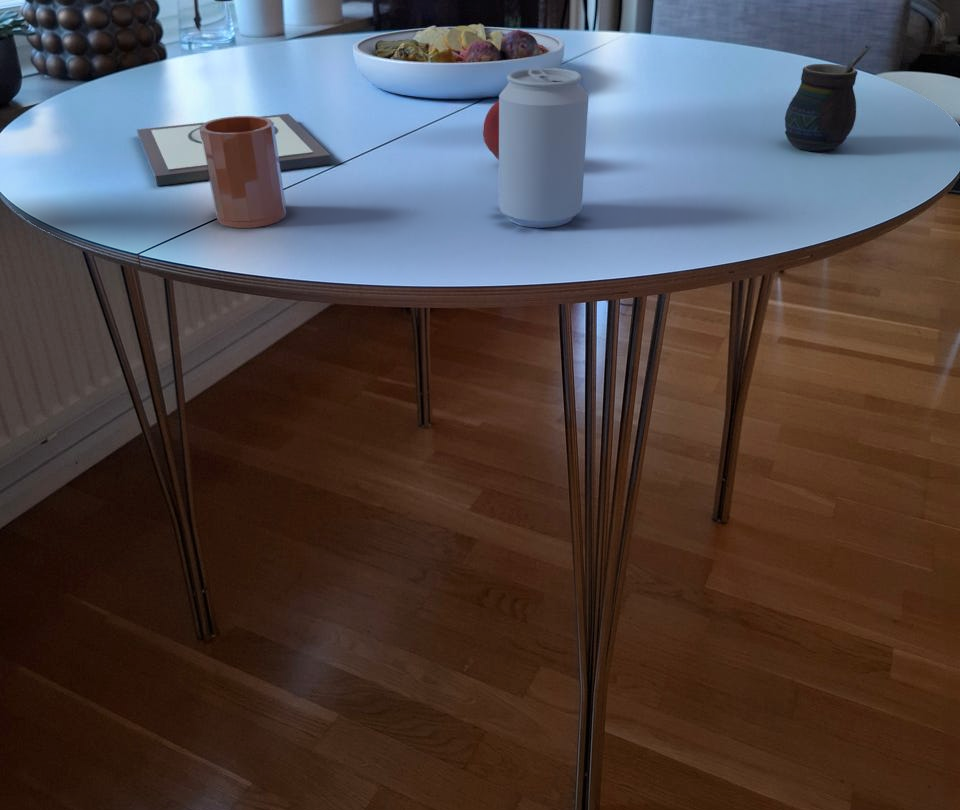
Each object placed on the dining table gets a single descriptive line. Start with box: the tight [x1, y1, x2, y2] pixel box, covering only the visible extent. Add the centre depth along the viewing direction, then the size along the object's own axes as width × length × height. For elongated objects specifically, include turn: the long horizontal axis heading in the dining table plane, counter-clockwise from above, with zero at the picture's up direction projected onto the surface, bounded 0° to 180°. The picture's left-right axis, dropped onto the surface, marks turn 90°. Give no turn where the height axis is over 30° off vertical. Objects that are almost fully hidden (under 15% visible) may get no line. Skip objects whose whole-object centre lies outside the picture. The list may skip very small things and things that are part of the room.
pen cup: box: [199, 115, 287, 229], centre depth 76 cm, size 6×6×8 cm
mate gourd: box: [784, 45, 872, 152], centre depth 93 cm, size 7×8×10 cm
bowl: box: [352, 23, 565, 100], centre depth 123 cm, size 30×30×8 cm
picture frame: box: [136, 113, 332, 187], centre depth 96 cm, size 18×20×1 cm
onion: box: [482, 99, 499, 161], centre depth 88 cm, size 6×6×8 cm
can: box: [498, 68, 590, 229], centre depth 74 cm, size 8×8×12 cm
